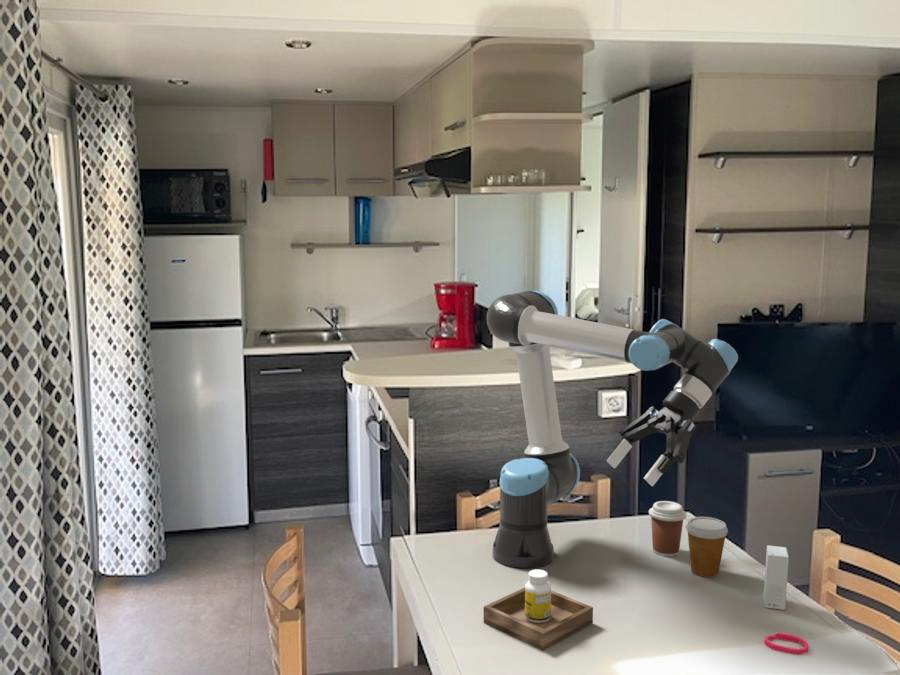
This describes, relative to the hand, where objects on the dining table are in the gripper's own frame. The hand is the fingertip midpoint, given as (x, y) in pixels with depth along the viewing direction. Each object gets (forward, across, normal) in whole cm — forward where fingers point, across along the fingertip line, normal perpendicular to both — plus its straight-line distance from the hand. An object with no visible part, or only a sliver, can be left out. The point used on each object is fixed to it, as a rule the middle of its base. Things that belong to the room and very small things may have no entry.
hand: (628, 473), depth 188 cm
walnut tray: (+37, -4, -2) cm, 37 cm away
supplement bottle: (+36, -4, -2) cm, 37 cm away
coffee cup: (+3, +15, -37) cm, 40 cm away
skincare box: (+1, -18, -39) cm, 43 cm away
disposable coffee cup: (+3, +2, -37) cm, 37 cm away
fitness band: (+9, -32, -31) cm, 46 cm away
